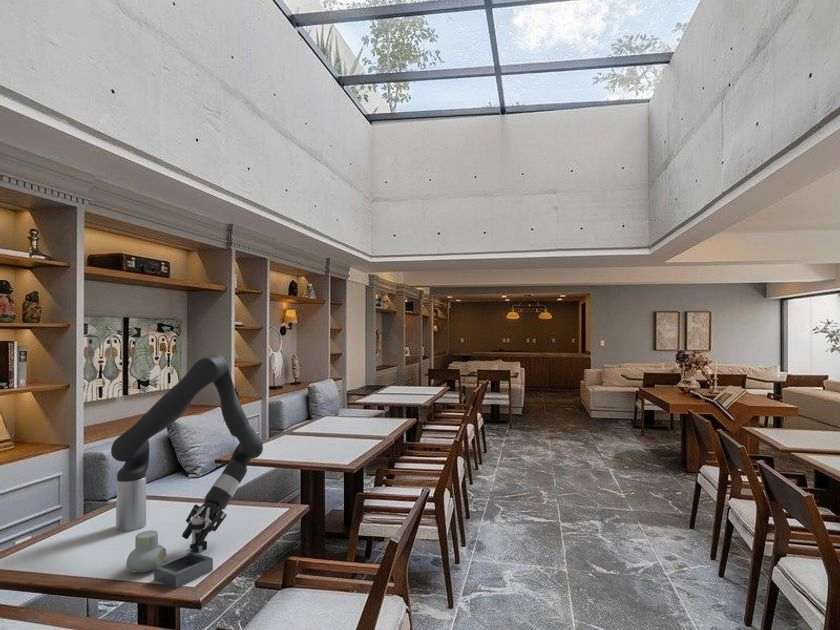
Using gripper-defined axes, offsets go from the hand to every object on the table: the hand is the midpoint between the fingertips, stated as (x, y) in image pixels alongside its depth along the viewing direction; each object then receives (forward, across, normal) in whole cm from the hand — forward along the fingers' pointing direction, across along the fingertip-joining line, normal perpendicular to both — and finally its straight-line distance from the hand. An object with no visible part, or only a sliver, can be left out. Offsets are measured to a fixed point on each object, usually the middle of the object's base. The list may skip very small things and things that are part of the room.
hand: (191, 539), depth 162 cm
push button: (+2, 0, +4) cm, 5 cm away
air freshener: (+12, -3, -6) cm, 14 cm away
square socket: (+10, +11, -4) cm, 16 cm away
